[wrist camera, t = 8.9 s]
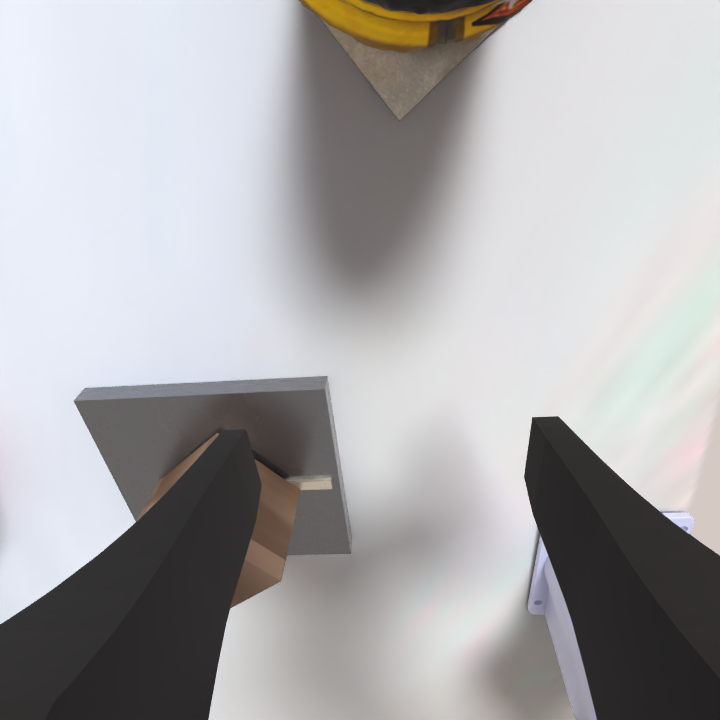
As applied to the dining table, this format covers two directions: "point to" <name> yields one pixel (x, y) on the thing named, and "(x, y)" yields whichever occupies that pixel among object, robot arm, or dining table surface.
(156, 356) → the dining table surface
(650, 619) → the robot arm
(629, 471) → the dining table surface
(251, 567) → the taped cardboard box
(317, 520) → the hub plate
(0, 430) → the dining table surface
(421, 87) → the condiment
